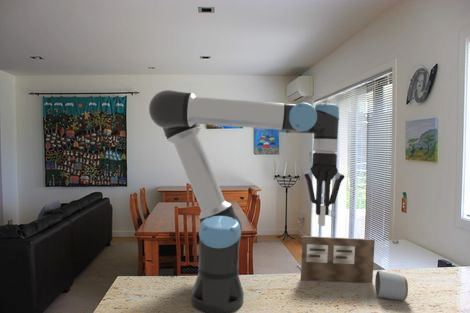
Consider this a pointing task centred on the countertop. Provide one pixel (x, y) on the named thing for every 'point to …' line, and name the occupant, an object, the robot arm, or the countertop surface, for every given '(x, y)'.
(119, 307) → the countertop surface
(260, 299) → the countertop surface
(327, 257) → the wooden board
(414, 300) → the countertop surface
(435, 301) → the countertop surface
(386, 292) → the ceramic mug
